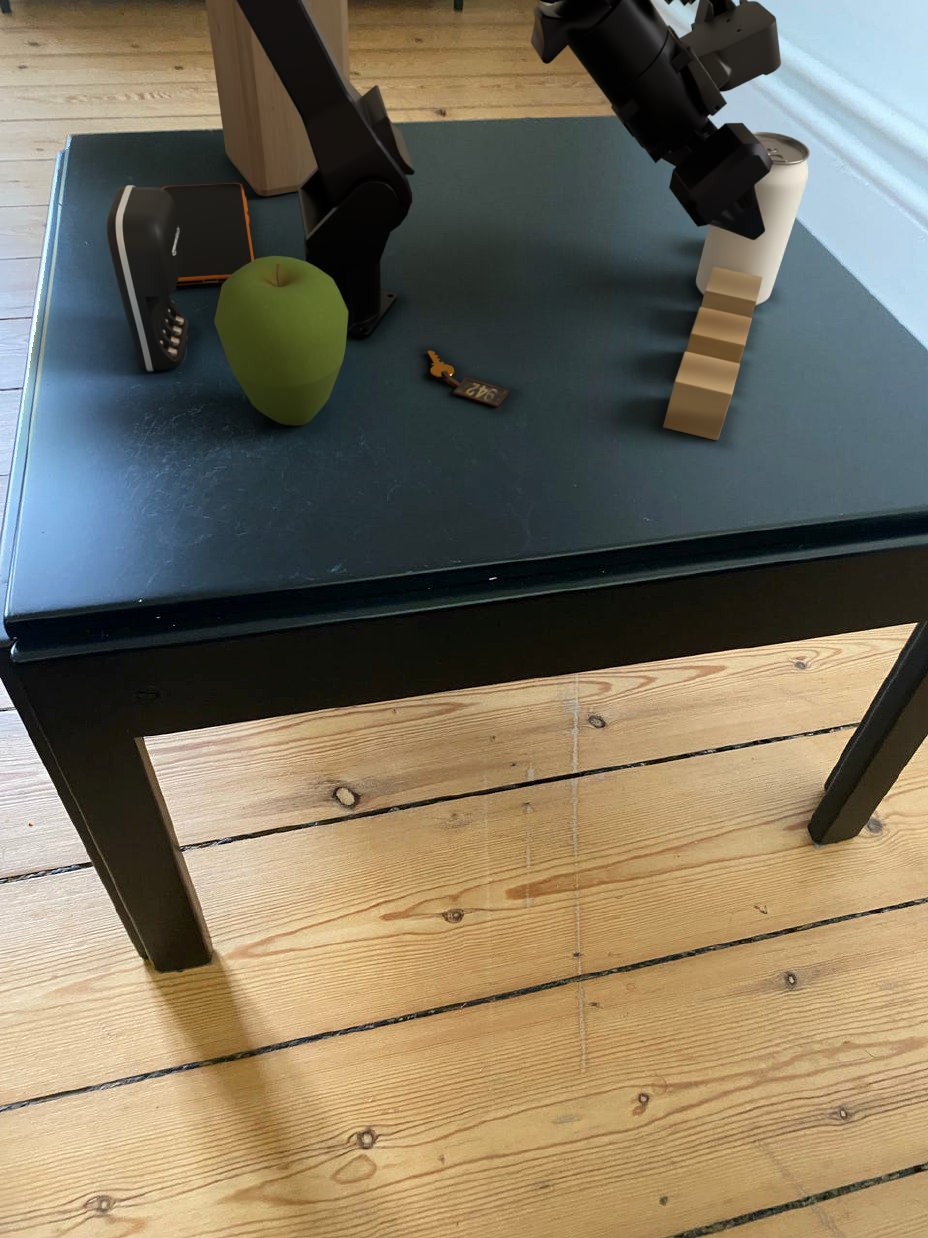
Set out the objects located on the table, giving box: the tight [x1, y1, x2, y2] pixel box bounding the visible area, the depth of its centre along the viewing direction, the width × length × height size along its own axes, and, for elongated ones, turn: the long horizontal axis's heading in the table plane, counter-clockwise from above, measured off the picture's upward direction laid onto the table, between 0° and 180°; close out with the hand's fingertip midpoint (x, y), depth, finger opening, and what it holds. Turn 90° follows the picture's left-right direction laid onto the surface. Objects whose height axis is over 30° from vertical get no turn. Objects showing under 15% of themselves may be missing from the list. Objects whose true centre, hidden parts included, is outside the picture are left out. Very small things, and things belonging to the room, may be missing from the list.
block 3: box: [662, 351, 741, 441], centre depth 68 cm, size 4×4×4 cm
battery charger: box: [106, 184, 190, 372], centre depth 68 cm, size 7×4×11 cm, turn 4°
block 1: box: [700, 267, 763, 319], centre depth 76 cm, size 4×4×4 cm
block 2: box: [685, 306, 753, 364], centre depth 72 cm, size 4×4×4 cm
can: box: [695, 131, 810, 307], centre depth 77 cm, size 6×6×12 cm
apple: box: [213, 255, 348, 427], centre depth 63 cm, size 9×8×12 cm
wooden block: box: [205, 0, 351, 197], centre depth 85 cm, size 10×10×20 cm
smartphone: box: [161, 182, 255, 286], centre depth 83 cm, size 8×17×1 cm, turn 12°
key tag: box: [427, 350, 510, 408], centre depth 71 cm, size 8×3×1 cm, turn 51°
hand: (736, 206), depth 76 cm, fingers open, 9 cm apart
